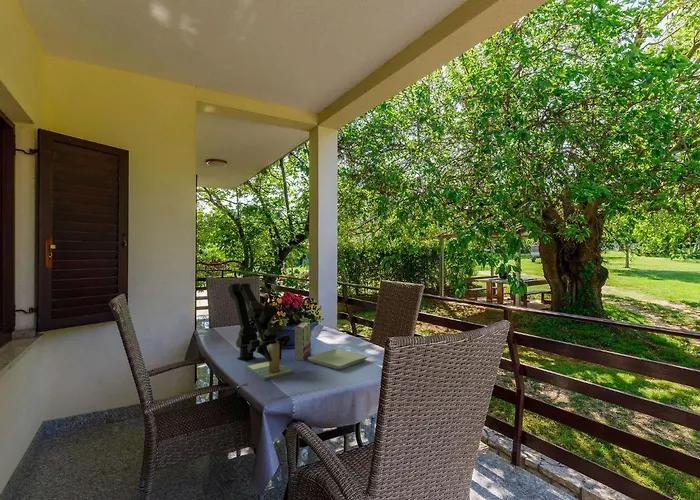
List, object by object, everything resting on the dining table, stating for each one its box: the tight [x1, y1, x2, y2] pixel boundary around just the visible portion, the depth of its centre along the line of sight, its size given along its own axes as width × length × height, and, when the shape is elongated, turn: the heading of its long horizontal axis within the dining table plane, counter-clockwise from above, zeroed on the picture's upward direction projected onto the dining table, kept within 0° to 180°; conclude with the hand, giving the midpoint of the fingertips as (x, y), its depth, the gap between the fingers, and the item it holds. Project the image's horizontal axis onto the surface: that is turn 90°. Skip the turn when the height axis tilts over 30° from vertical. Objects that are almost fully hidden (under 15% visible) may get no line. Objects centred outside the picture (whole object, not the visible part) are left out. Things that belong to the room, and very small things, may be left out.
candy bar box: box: [294, 322, 312, 362], centre depth 190 cm, size 11×5×16 cm, turn 168°
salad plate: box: [307, 348, 368, 370], centre depth 182 cm, size 21×21×3 cm
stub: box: [256, 343, 294, 381], centre depth 165 cm, size 7×14×13 cm, turn 129°
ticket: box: [244, 360, 286, 377], centre depth 173 cm, size 12×14×1 cm
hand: (275, 360), depth 164 cm, fingers closed on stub, 4 cm apart
